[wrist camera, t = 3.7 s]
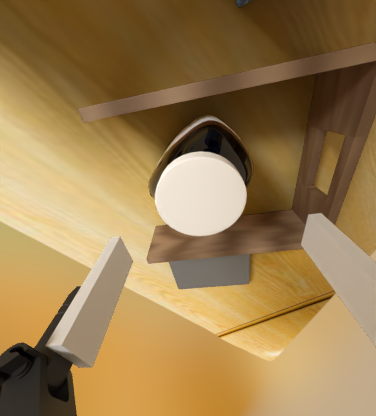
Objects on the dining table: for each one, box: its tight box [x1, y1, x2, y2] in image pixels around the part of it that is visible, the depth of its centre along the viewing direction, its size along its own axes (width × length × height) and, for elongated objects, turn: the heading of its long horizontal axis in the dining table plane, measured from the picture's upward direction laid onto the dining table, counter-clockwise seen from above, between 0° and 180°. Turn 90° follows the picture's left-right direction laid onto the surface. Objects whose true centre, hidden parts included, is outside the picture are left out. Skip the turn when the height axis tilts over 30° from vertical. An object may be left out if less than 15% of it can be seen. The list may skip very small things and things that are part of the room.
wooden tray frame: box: [77, 42, 376, 264], centre depth 20 cm, size 23×19×7 cm
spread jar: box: [149, 115, 253, 236], centre depth 19 cm, size 12×11×12 cm
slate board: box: [169, 254, 250, 289], centre depth 33 cm, size 15×15×1 cm
